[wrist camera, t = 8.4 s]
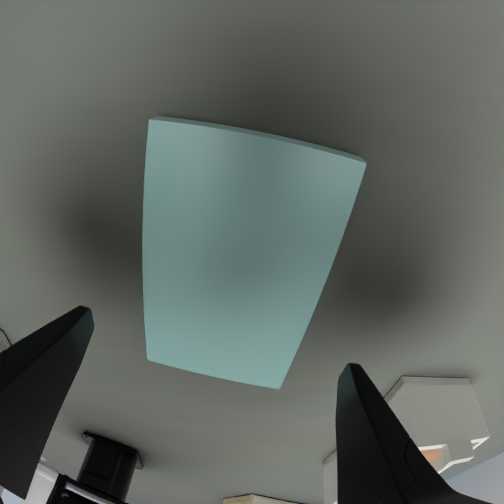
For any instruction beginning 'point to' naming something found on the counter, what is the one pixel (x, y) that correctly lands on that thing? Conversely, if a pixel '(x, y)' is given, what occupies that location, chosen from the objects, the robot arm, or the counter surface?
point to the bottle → (41, 485)
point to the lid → (237, 245)
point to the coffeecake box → (253, 500)
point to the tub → (430, 423)
